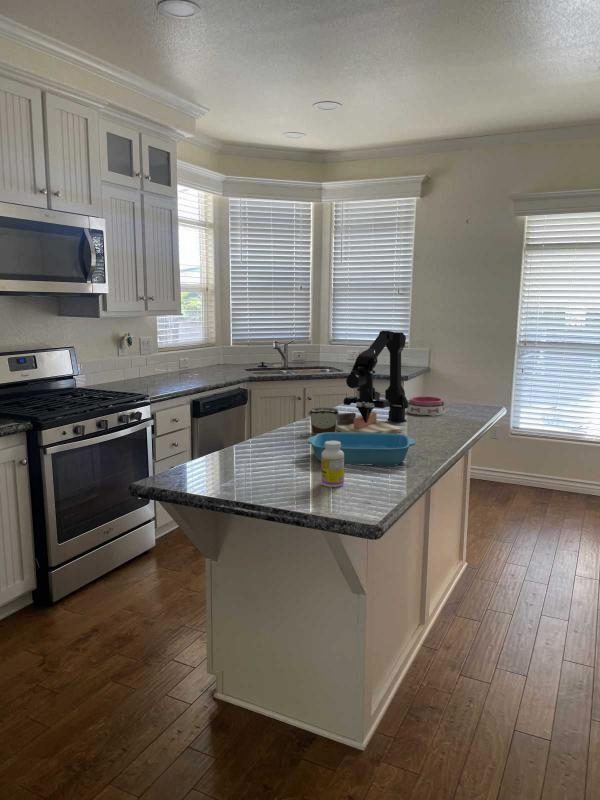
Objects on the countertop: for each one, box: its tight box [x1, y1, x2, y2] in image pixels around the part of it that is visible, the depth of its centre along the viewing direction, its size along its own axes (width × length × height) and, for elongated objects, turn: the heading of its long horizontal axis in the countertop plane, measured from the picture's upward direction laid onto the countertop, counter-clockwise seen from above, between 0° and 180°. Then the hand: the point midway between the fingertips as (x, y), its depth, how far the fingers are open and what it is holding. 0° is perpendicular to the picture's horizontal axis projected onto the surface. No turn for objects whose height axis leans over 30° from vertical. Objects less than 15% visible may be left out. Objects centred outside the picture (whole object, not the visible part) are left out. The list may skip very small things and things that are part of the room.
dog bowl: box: [406, 395, 447, 416], centre depth 285 cm, size 18×19×7 cm
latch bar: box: [354, 411, 377, 429], centre depth 249 cm, size 17×3×4 cm, turn 147°
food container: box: [308, 407, 340, 435], centre depth 243 cm, size 12×6×10 cm, turn 84°
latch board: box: [336, 412, 403, 434], centre depth 247 cm, size 22×20×6 cm
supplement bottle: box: [320, 441, 345, 488], centre depth 174 cm, size 7×7×13 cm
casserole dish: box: [306, 431, 417, 466], centre depth 203 cm, size 37×22×7 cm, turn 81°
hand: (366, 422), depth 244 cm, fingers closed
